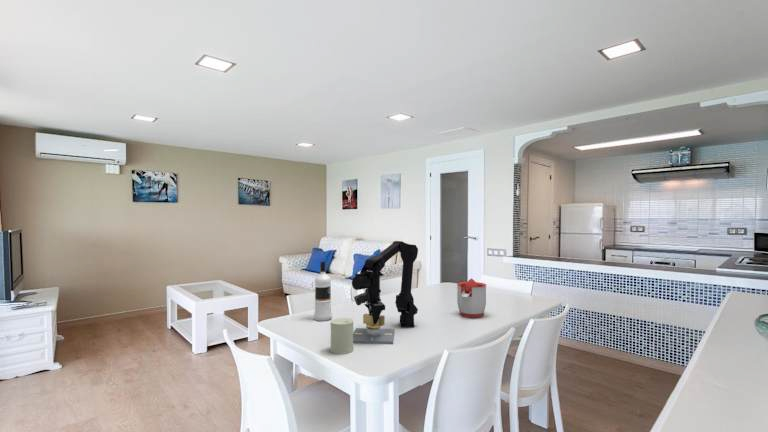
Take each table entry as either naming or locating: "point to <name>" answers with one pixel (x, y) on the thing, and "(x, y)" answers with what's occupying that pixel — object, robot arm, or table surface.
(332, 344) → the can
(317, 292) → the vodka
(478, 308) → the citrus juicer
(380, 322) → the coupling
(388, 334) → the post base
